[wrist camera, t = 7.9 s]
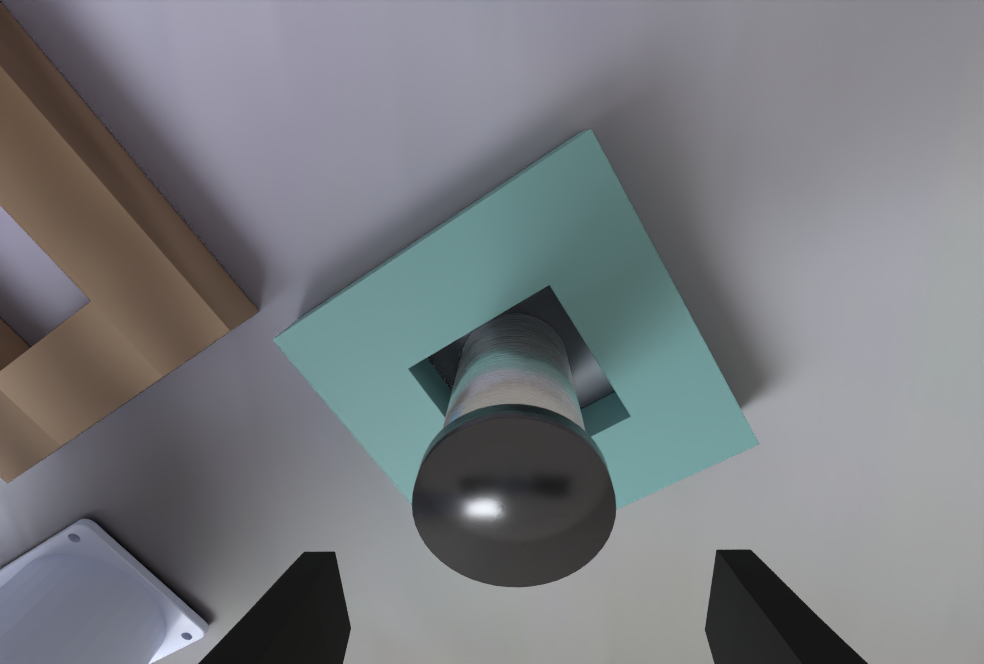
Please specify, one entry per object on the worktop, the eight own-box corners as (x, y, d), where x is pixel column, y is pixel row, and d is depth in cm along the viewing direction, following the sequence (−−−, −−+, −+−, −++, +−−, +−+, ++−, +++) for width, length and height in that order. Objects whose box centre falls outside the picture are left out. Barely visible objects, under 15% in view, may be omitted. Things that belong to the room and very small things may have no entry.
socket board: (474, 538, 22) (471, 575, 20) (297, 319, 18) (272, 339, 16) (735, 414, 19) (759, 443, 17) (582, 130, 16) (591, 129, 14)
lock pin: (498, 435, 20) (489, 613, 12) (428, 348, 19) (370, 486, 11) (598, 378, 19) (653, 534, 11) (531, 280, 17) (542, 383, 10)
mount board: (52, 453, 21) (7, 483, 19) (-213, 209, 18) (-299, 217, 16) (259, 311, 18) (230, 330, 16) (-8, -9, 15) (-83, -30, 13)
